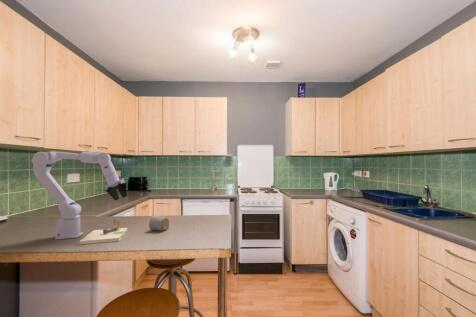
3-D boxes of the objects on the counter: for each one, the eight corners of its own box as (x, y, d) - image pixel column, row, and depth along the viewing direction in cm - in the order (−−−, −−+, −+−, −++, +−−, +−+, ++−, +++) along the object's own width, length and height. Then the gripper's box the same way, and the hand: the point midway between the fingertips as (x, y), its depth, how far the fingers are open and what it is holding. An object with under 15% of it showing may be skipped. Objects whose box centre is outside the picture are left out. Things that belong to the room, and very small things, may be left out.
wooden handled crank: (105, 233, 114) (105, 223, 114) (101, 233, 114) (101, 222, 114) (119, 228, 122) (119, 218, 122) (116, 228, 123) (116, 218, 123)
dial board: (79, 244, 104) (79, 240, 104) (93, 233, 122) (93, 230, 122) (118, 241, 108) (118, 237, 108) (127, 230, 126) (127, 227, 126)
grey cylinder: (162, 232, 121) (162, 217, 121) (148, 231, 123) (148, 216, 123) (172, 227, 131) (173, 213, 132) (159, 226, 133) (160, 213, 134)
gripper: (125, 169, 122) (135, 192, 124) (110, 175, 130) (120, 197, 131) (112, 173, 116) (123, 198, 118) (97, 179, 124) (108, 203, 125)
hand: (121, 198), depth 124 cm, fingers open, 7 cm apart
